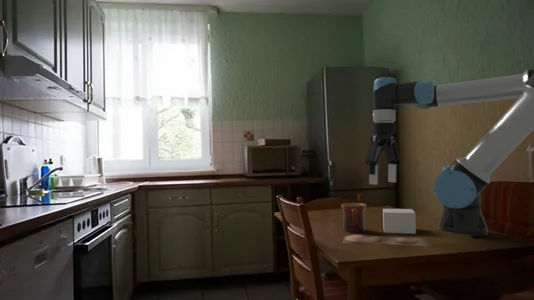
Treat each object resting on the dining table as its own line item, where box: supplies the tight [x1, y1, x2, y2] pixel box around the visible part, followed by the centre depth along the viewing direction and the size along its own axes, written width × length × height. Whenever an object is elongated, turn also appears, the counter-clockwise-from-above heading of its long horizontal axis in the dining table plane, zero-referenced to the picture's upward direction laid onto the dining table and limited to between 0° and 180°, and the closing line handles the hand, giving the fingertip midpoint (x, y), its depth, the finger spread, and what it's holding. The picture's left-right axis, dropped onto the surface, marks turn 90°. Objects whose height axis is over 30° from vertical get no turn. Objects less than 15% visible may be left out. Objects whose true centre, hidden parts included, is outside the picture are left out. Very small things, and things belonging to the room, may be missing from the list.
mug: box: [340, 202, 367, 234], centre depth 129 cm, size 12×9×10 cm
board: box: [342, 234, 432, 247], centre depth 114 cm, size 25×11×2 cm, turn 75°
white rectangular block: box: [382, 208, 417, 235], centre depth 129 cm, size 10×9×8 cm
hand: (383, 183), depth 130 cm, fingers open, 13 cm apart
